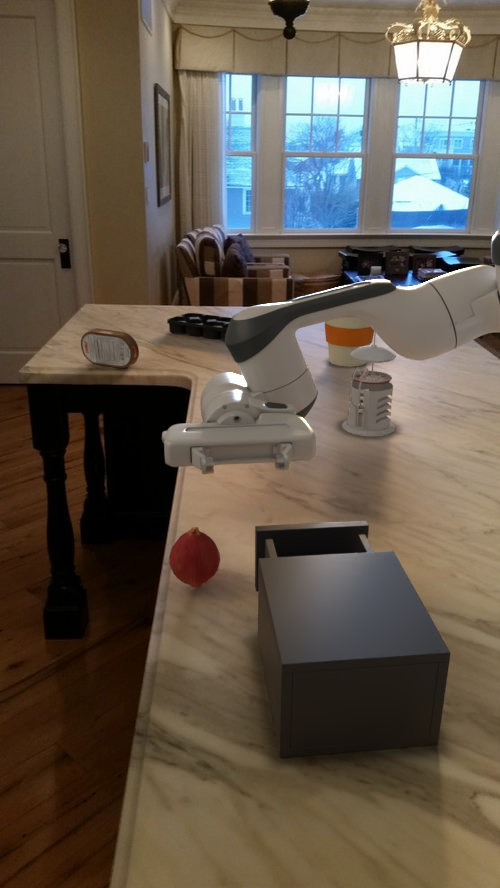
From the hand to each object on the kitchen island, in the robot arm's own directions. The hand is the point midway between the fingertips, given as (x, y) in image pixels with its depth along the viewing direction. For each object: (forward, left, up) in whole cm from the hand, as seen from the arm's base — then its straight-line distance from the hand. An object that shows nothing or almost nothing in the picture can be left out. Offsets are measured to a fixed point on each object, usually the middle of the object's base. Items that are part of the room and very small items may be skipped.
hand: (245, 467), depth 88 cm
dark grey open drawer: (-6, +19, -10) cm, 22 cm away
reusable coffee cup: (-33, -82, -11) cm, 89 cm away
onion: (+7, +10, -11) cm, 16 cm away
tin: (+24, -84, -11) cm, 88 cm away
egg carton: (-4, -112, -11) cm, 113 cm away
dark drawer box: (-6, +28, -11) cm, 30 cm away
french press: (-26, -38, -11) cm, 47 cm away
